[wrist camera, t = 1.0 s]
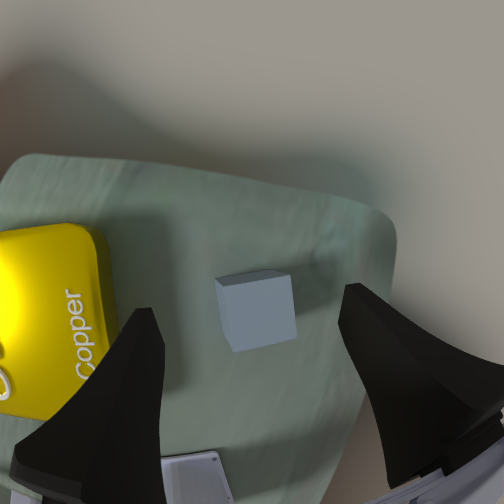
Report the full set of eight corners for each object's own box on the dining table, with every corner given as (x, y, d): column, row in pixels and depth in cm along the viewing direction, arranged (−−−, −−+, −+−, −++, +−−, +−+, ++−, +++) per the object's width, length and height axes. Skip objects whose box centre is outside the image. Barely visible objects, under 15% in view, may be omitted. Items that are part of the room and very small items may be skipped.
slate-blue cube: (276, 322, 24) (297, 338, 19) (223, 333, 23) (233, 352, 18) (269, 269, 23) (290, 274, 19) (214, 278, 22) (223, 286, 18)
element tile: (135, 400, 21) (129, 430, 16) (4, 392, 17) (-17, 413, 13) (109, 223, 20) (92, 218, 16) (-26, 240, 17) (-56, 240, 12)
